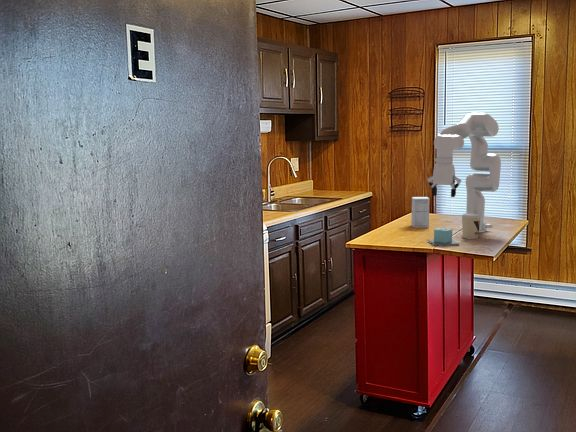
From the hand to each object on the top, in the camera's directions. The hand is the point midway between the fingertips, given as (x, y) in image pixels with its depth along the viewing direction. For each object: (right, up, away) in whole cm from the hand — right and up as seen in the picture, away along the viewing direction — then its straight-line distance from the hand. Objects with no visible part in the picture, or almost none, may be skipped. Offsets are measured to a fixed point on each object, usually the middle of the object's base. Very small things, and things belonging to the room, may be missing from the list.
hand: (443, 196), depth 296 cm
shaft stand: (-1, -23, -1) cm, 23 cm away
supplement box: (0, -16, +54) cm, 56 cm away
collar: (-1, -22, -1) cm, 22 cm away
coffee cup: (+18, -21, +16) cm, 32 cm away
